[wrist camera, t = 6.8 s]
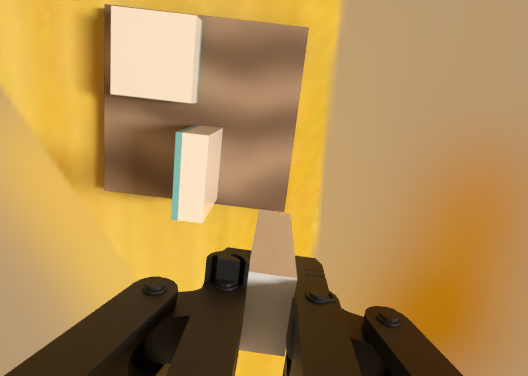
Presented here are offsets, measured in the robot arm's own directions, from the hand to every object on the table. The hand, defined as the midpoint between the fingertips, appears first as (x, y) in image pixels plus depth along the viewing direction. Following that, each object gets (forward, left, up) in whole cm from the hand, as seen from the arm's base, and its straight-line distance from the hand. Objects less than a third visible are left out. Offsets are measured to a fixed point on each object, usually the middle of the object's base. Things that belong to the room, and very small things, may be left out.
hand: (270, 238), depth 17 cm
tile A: (-9, -8, -17) cm, 20 cm away
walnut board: (-4, -8, -19) cm, 21 cm away
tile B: (0, -7, -18) cm, 19 cm away
